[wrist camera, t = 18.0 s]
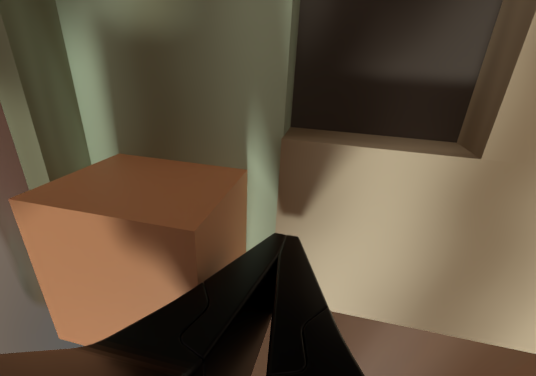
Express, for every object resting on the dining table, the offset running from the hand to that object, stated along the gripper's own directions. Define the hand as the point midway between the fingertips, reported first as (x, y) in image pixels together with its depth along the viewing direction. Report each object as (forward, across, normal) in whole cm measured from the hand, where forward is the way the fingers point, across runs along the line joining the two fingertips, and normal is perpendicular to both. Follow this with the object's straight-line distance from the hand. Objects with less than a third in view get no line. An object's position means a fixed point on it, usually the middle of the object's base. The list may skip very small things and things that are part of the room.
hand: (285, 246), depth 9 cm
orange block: (+1, +4, +1) cm, 4 cm away
